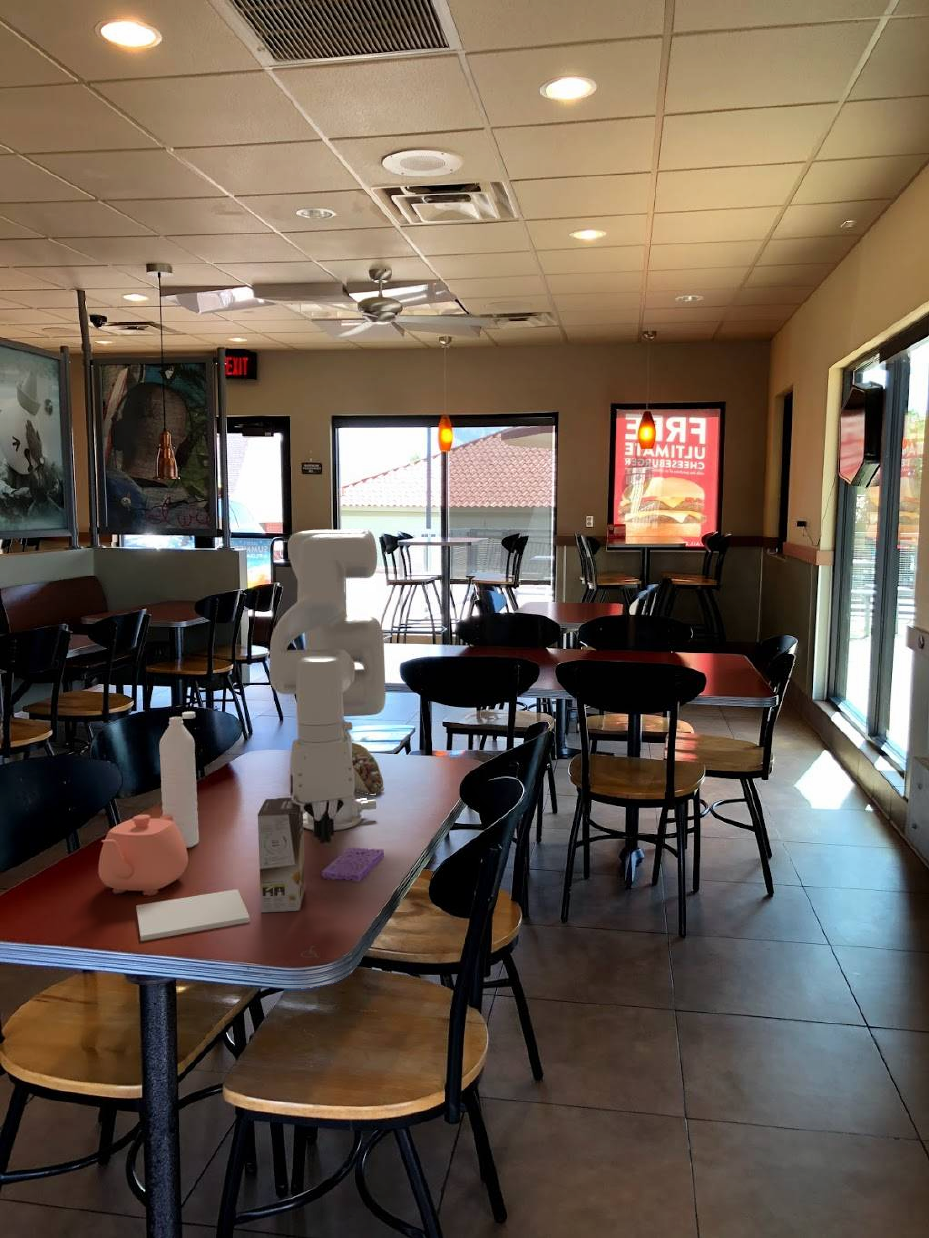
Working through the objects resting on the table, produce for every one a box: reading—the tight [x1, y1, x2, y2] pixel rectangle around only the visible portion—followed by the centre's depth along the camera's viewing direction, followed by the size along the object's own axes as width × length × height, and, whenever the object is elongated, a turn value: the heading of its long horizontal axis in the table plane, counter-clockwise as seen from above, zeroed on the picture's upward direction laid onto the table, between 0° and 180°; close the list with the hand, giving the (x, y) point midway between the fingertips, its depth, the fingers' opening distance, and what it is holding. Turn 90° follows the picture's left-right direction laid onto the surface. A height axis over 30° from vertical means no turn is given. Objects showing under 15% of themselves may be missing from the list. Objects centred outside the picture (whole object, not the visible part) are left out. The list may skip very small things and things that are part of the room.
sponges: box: [321, 846, 385, 882], centre depth 165 cm, size 7×13×2 cm, turn 165°
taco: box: [352, 742, 385, 795], centre depth 217 cm, size 10×27×10 cm, turn 53°
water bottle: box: [158, 711, 200, 849], centre depth 178 cm, size 9×6×25 cm
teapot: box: [98, 814, 189, 897], centre depth 157 cm, size 13×20×12 cm
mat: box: [135, 888, 251, 942], centre depth 145 cm, size 16×12×1 cm
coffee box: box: [257, 797, 306, 913], centre depth 150 cm, size 9×6×16 cm
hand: (324, 840), depth 153 cm, fingers closed
